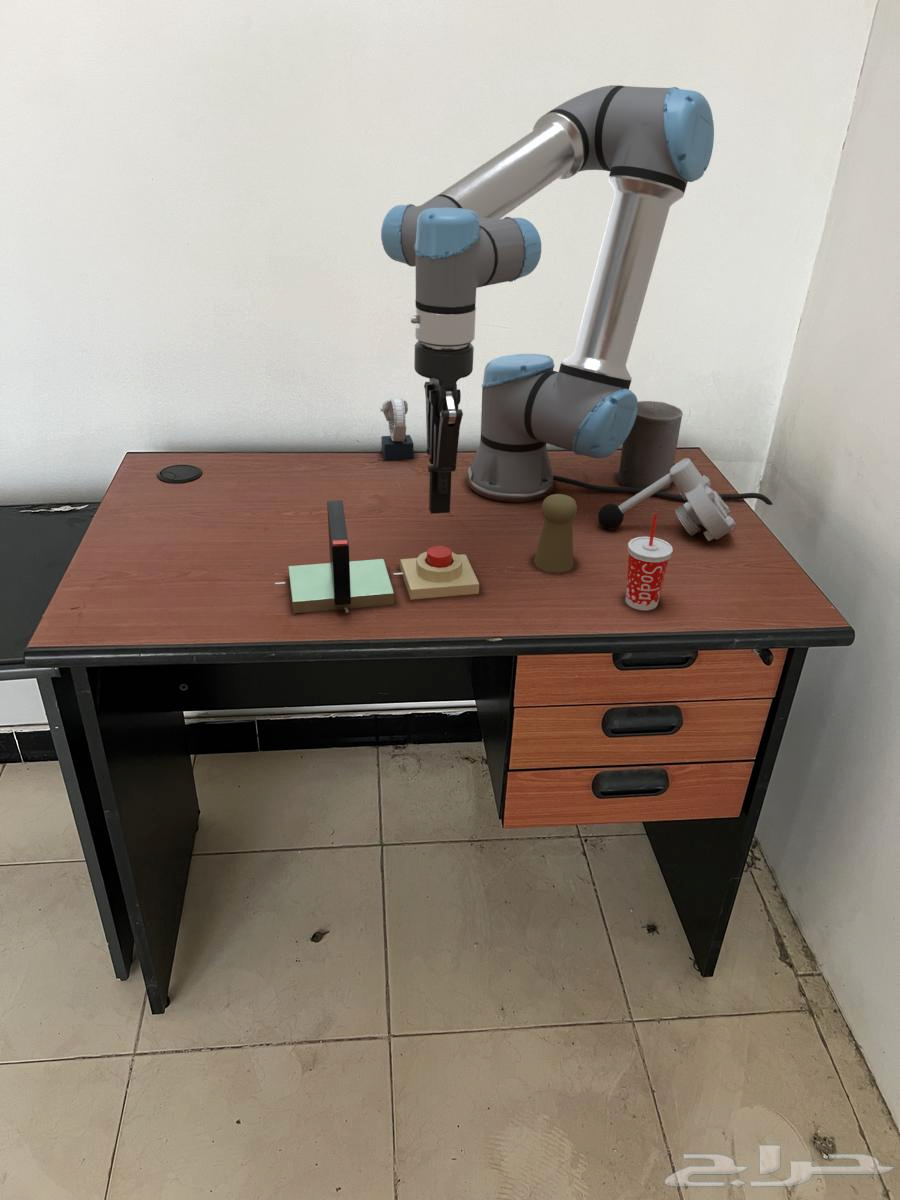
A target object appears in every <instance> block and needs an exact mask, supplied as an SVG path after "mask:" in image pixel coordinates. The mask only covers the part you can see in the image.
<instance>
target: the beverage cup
mask: <svg viewBox="0 0 900 1200" xmlns="http://www.w3.org/2000/svg"><path fill="white" fill-rule="evenodd" d="M652 516H653V517H652V522H651V530H650V534H649V535H650V536H637V537H634V538H632V539H630V540H629V541H628V542H627V552H628V562H627V574H626V585H625V600H624V601H625V604H626V605H627V606H628V607H630V608H632V609H635V610H638V611H652V610H654V609H656V608H657V607H658V606H659V601H660V598H661V597H660V596H661V593H662V589H663V585H664V580H665V576H666V573H667V569H668V565H669V560H670V559H671V557H672V554H673V552H674V550H673V546H672V545H671V544H670V543H669V542H668V541H666V540H664V539H661V538H659V537H655V531H656V527H657V526H656V525H657V519H658V513H657V512H654V513H653V515H652Z"/></svg>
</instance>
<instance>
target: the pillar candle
mask: <svg viewBox="0 0 900 1200" xmlns="http://www.w3.org/2000/svg"><path fill="white" fill-rule="evenodd" d="M637 407H638V411H637V416H636V419H635V422H634V425H633V427H632V429H631V431H630V433H629V435H628V437H627V438H626V440H625V441H624V443H623V444H622V445H621V454H620V461H619V471H618V477H617V480H618V482H619V483H620V484H621V485H622V486H623V487H632V488H643V489H646V488H647V487H649V486H650V485H652V484H653V483H655V482H656V481H658V480H659V479H661V478H662V477H664V476H666V475H667V474H669V473H670V469H671V468H672V467H673V466H674V465H675V461H676V454H677V450H678V449H677V448H678V442H679V437H680V429H681V424H682V419H683V415H684V413H683V410H681V408H679V407H677V406H675V405H673V404H670V403H666V402H663V401H653V400H641V401H640V400H639V401H638V404H637ZM670 486H671V483H670V484H668V485H667V486H665V487H664V488H662V489H660V490H659V491H661V492H662V491H664V490H666V489H669V488H670Z"/></svg>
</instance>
